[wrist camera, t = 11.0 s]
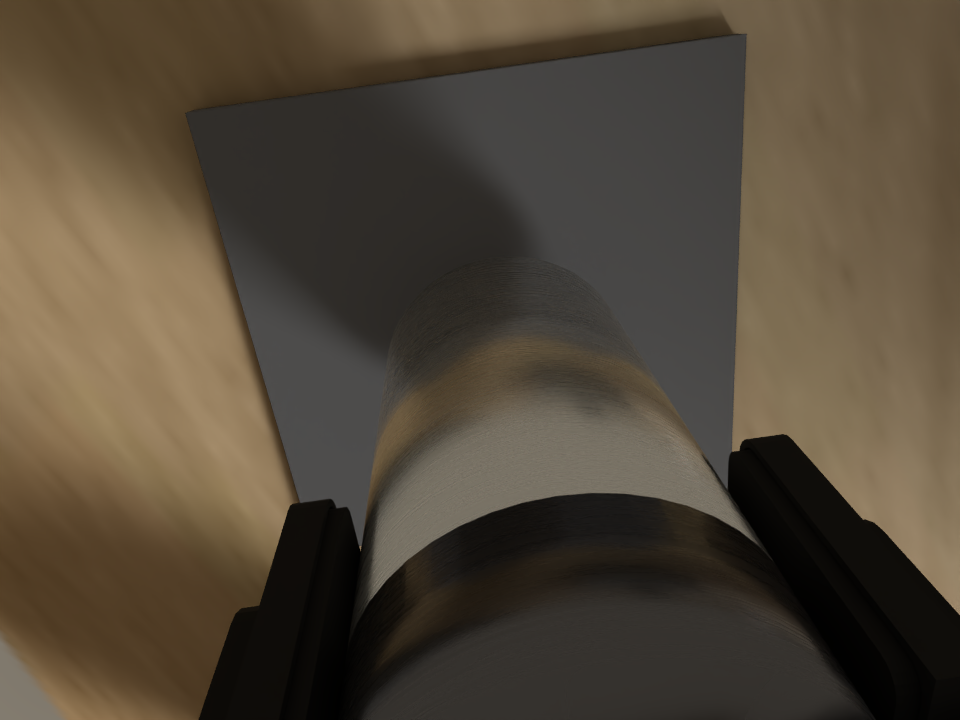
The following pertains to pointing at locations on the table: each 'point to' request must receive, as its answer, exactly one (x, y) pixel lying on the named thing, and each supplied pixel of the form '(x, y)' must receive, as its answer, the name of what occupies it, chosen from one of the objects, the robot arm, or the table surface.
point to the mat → (481, 225)
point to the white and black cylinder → (559, 531)
